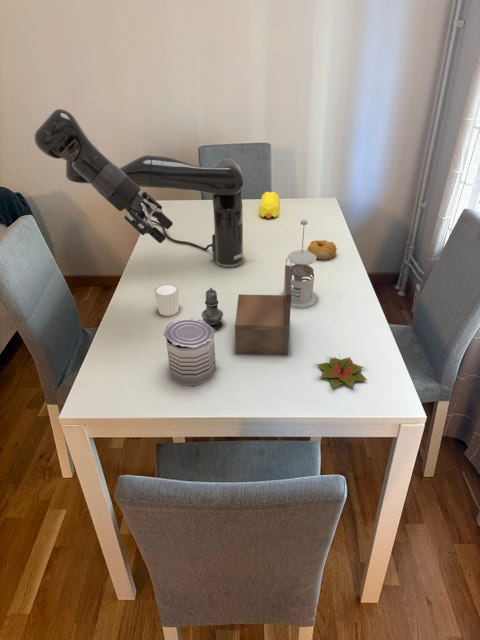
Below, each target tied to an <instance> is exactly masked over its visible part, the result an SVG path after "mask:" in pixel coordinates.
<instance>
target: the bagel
mask: <svg viewBox="0 0 480 640" xmlns="http://www.w3.org/2000/svg"><path fill="white" fill-rule="evenodd" d="M337 250H338V248H337V246H336V244H335V242H333V241H328V240H325V239H324V240H312V241H311V242H310V244H309V245H308V246H307V249H306V251H309V252H311V253H313V254H314V255H315V256H316V259H318V260H323V261H324V260H325V261H326V260H329V259H332V258H334V257H335V256H336V253H337Z"/></svg>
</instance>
